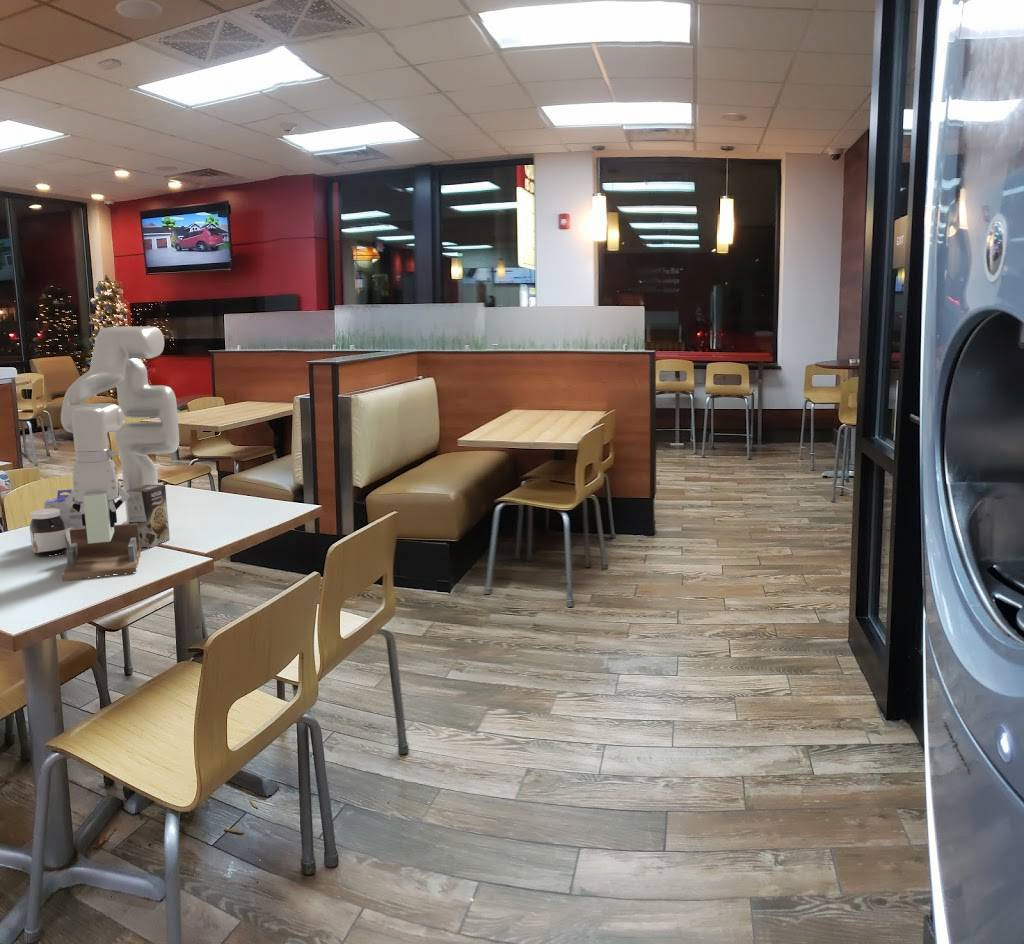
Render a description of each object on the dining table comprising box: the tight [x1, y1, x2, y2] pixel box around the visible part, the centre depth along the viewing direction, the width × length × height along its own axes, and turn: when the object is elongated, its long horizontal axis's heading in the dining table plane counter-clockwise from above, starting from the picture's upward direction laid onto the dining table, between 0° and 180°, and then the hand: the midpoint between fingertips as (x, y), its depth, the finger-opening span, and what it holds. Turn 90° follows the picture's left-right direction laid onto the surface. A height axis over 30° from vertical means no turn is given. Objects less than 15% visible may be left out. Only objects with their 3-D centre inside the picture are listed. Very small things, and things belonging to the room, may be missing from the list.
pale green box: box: [83, 492, 114, 543], centre depth 204 cm, size 10×5×12 cm, turn 21°
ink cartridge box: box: [44, 489, 86, 543], centre depth 228 cm, size 10×6×14 cm, turn 112°
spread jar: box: [29, 508, 74, 557], centre depth 217 cm, size 12×11×12 cm
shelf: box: [61, 523, 142, 582], centre depth 204 cm, size 18×16×8 cm
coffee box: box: [126, 484, 171, 549], centre depth 225 cm, size 9×6×16 cm
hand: (100, 526), depth 204 cm, fingers closed on pale green box, 5 cm apart
